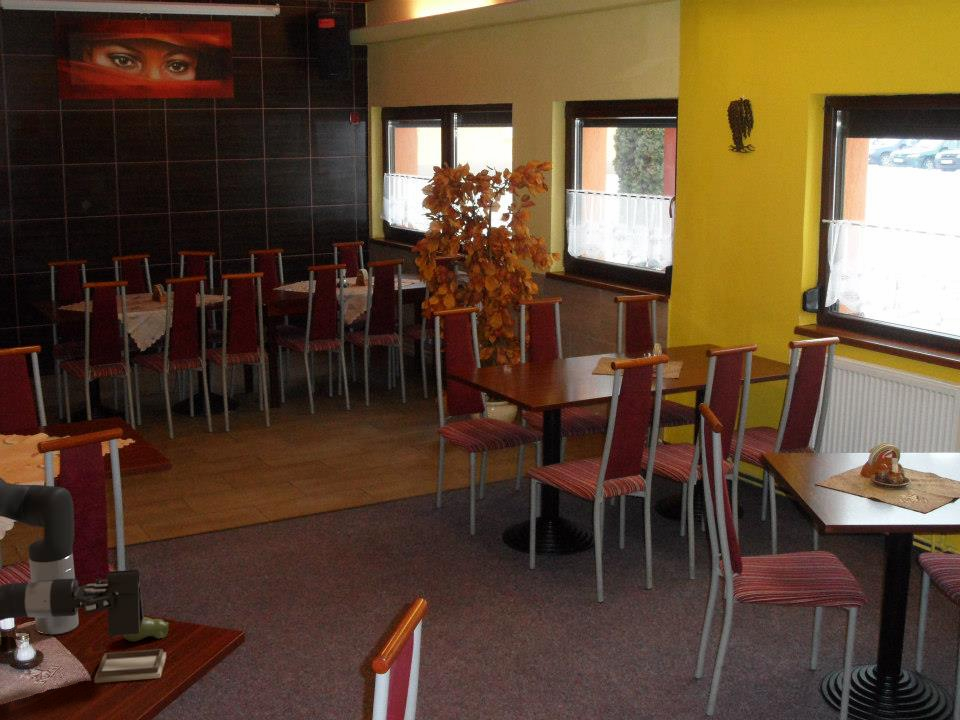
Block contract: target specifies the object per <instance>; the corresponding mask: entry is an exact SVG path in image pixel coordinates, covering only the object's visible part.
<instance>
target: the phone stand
mask: <svg viewBox="0 0 960 720" xmlns="http://www.w3.org/2000/svg"><path fill="white" fill-rule="evenodd" d="M106 576H107V577H106V578H107V579H106V580H107V583H108V593H114V592H119V595H124V594H135V597H134V598H133V597H132V596H130V597H129V598H130V599H128V598H126V599H125V598H124V597H122V598H120V599H119V601H118V603H116V604H115V607H114V608H110V609H107V617H108V618H107V622H108V625H107V626H108V627H107V628H108V636H109V637H113V636H123V635H128V634H139V632H140V629H141V625H142V621H143V618H144V617H145V615H144V614H145V613H144V608H143V598H142V594H141V595H140V597H139V594H138V592H139V588H140V587H141V583H140V571H139V569H129V570H114V571H113V570H112V571H108V573H107V575H106ZM132 598H133V599H132ZM108 604H109V600H108Z"/></svg>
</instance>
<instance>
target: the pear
mask: <svg viewBox="0 0 960 720" xmlns="http://www.w3.org/2000/svg"><path fill="white" fill-rule="evenodd" d="M169 625H170V623H169V622H168V621H164V619H160V618H150V617H147V616H144V618H143V621H142V625H141V629H140V632H139V634H128V635H122V636H123V638H124V639H126V640H127V641H129V642H131V643H132V642H139V641H141V640H143V639H145V638H148V637H153V638H155V639H158V640H160V638H162V639H165V638H166V637H167V635H168V633H169ZM164 637H165V638H164Z"/></svg>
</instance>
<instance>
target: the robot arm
mask: <svg viewBox="0 0 960 720" xmlns="http://www.w3.org/2000/svg"><path fill="white" fill-rule="evenodd" d="M74 511H75V510H74V501H73V498H72V495H71V493H70V491H69V490H68V489H67V488H64V487H63V486H62V487H61V486H54V485H44V484H43V485H42V484H18V483H10V482H7V481H5V480H4V479H3V478H2V477H0V517H2V518H6V519H9V520H13V521H16V522H17V523H20V524H24V525H25V526H29V527H37V528H38V527H39V528H43V538H40V539H37V540H35V541H34V542H33V541H32V543H30V544H29V546H28V549H27V550H28V562H29V572H30V581H25V582H11V583H5V584H3V585H1V586H0V622H1V621H3V620H7V619H20V618H34V622H35V630H36V629H37V630H38V631H40V632H43V633H47V634H50V635H49V636H51V635H60V634H64V633H67V632H71V631H72V630H74V629H77V627H78V626H79V623H80V622H79V609H82V610H83V609H85V610H84V611H85V614H87V615H89V614H93V613H98V612H102V611H105V610H108V609H110V608H114V607H115V604H116V603H118V601H119V599H120V598H122V597H124V598H125V599H126V598H128V599H130V598H129V597H130V596H132V597H133V598H134V597H135V594H124V595H119V592H114V593H108V583H107V579H103V578H97V579H95V583H87V584H85V585H80V584H79V581H78V580H77V579H76V575H75V564H74V553H73V544H74V539H75V513H74ZM138 594H139V597H140V595H141V596H142V588H141V586H140V588H139V592H138ZM133 598H132V599H133ZM108 600H109V604H108Z"/></svg>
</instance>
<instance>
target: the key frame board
mask: <svg viewBox="0 0 960 720" xmlns="http://www.w3.org/2000/svg"><path fill="white" fill-rule="evenodd" d="M166 659H167V651H164V649H163V648H155V649H143V650H131V651H130V650H129V651H118V652H117V651H116V652H106V653H104V654H103V657H102V658H101V661H100V663H99V665H98V669H97V671H96V673H95V675H94V678H93V681H94V683H95V684H101V683H112V682H124V681H137V680H151V679H160V678H161V677H162V673H163V670H164V666H165V663H166Z"/></svg>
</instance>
